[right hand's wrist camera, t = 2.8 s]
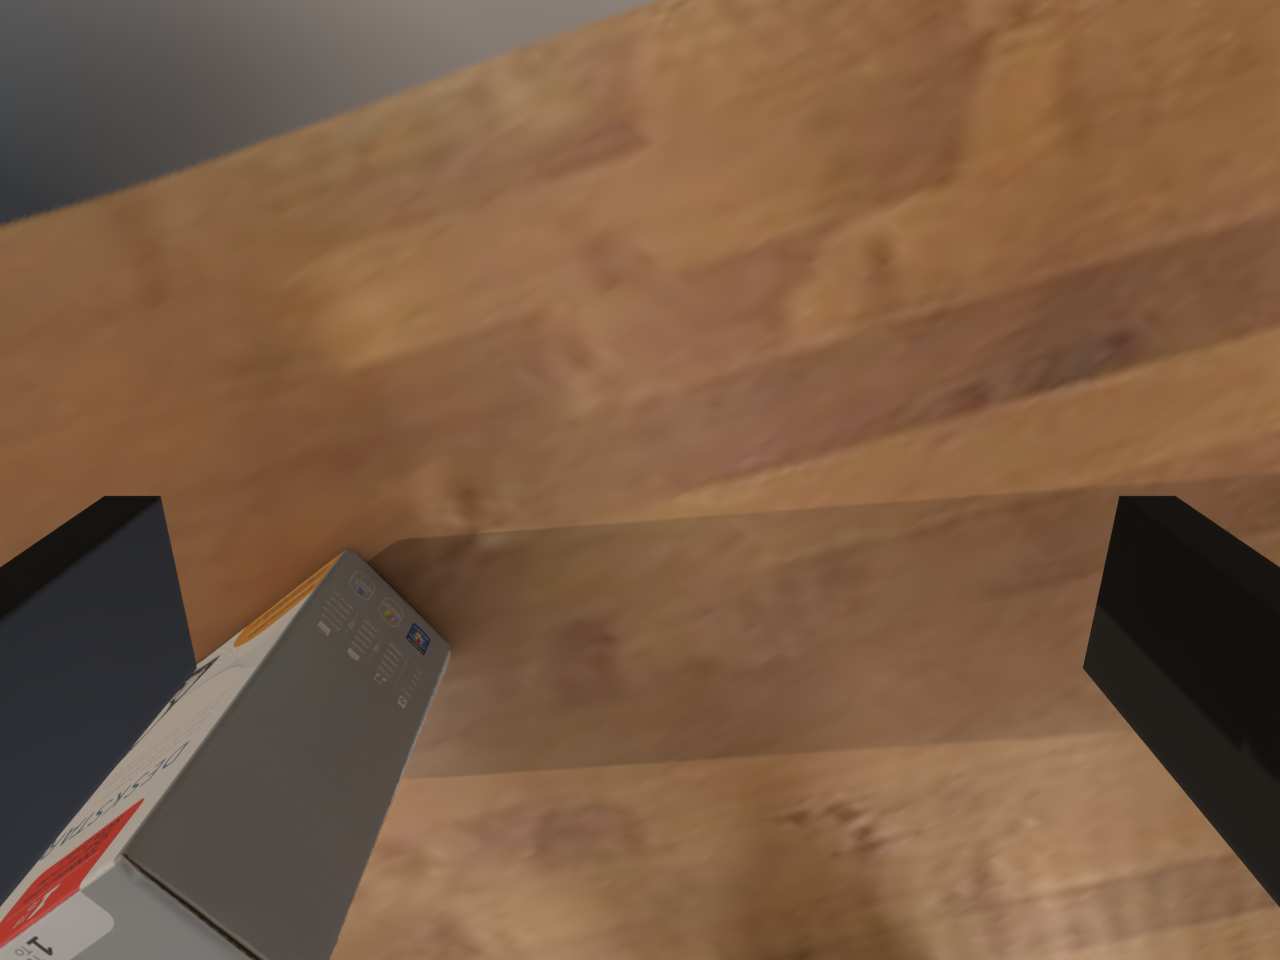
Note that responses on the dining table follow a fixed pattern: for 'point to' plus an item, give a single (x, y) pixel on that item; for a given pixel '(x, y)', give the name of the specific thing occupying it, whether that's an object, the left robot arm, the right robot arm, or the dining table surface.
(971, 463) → the dining table surface
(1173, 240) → the dining table surface
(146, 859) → the hard drive box
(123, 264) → the dining table surface
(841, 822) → the dining table surface
